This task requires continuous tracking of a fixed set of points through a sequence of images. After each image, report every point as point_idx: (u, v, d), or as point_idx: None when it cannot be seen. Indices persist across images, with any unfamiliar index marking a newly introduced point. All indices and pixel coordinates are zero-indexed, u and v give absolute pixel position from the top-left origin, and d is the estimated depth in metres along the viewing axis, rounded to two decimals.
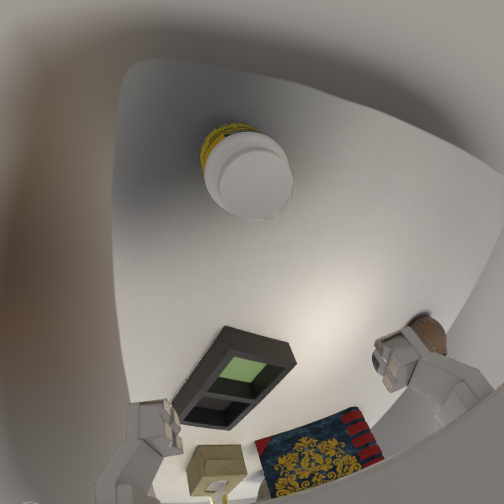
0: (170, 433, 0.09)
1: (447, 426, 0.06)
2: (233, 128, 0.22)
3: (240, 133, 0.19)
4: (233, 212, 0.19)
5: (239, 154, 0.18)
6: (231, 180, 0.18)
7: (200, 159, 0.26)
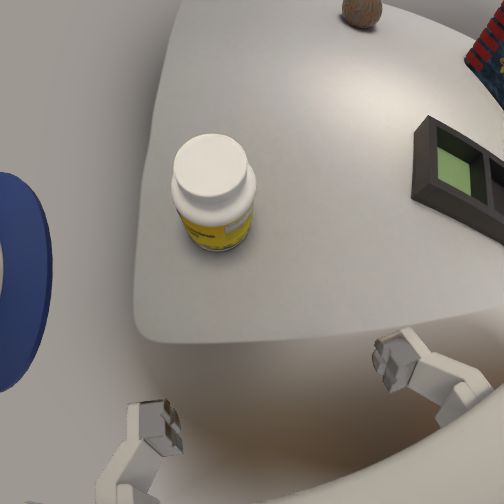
0: (170, 433, 0.09)
1: (447, 426, 0.06)
2: None
3: (173, 199, 0.21)
4: (239, 178, 0.18)
5: (180, 187, 0.18)
6: (205, 187, 0.18)
7: (225, 247, 0.27)
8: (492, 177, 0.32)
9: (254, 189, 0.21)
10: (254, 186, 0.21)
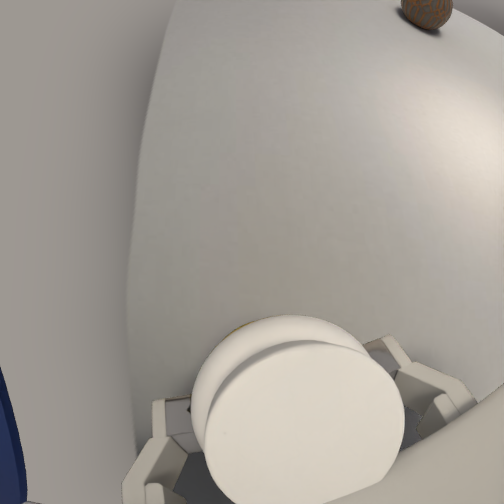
0: None
1: (447, 426, 0.06)
2: None
3: (200, 445, 0.08)
4: (384, 472, 0.05)
5: (231, 494, 0.05)
6: None
7: None
8: None
9: None
10: None
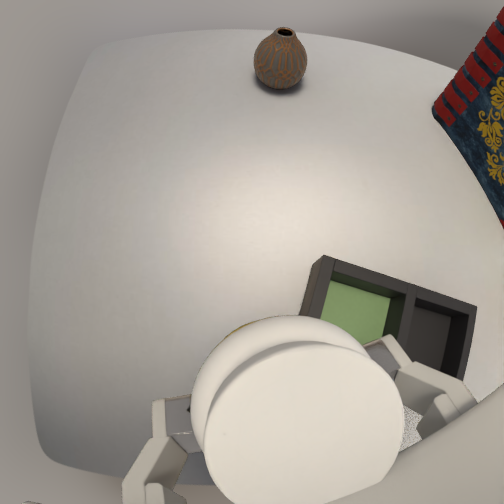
0: None
1: (447, 426, 0.06)
2: None
3: (200, 446, 0.08)
4: (384, 473, 0.05)
5: (230, 495, 0.05)
6: None
7: None
8: (425, 308, 0.29)
9: None
10: None
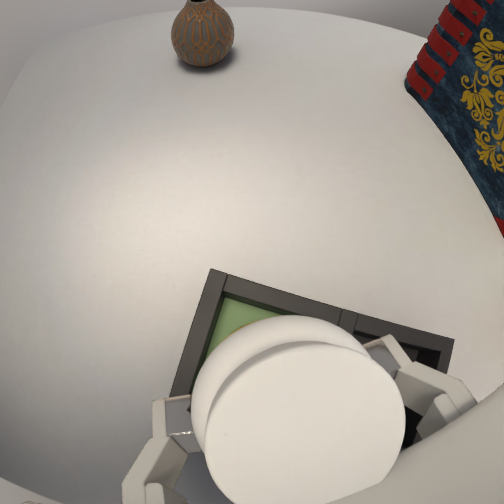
0: None
1: (447, 426, 0.06)
2: None
3: (200, 446, 0.08)
4: (385, 473, 0.05)
5: (231, 495, 0.05)
6: None
7: None
8: None
9: None
10: None
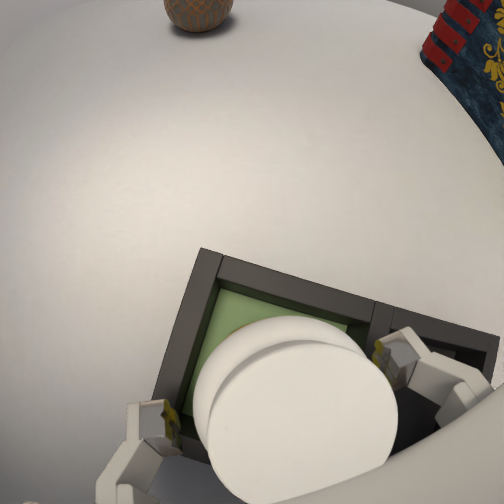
0: (170, 433, 0.09)
1: (447, 426, 0.06)
2: None
3: (202, 442, 0.08)
4: (378, 466, 0.06)
5: (232, 488, 0.06)
6: None
7: None
8: None
9: None
10: None
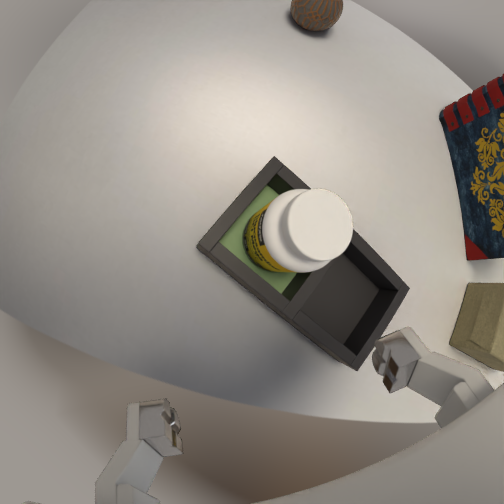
0: (170, 433, 0.09)
1: (447, 426, 0.06)
2: (254, 234, 0.24)
3: (263, 229, 0.21)
4: (341, 251, 0.19)
5: (287, 235, 0.19)
6: (311, 248, 0.19)
7: (274, 271, 0.28)
8: (356, 264, 0.31)
9: None
10: None
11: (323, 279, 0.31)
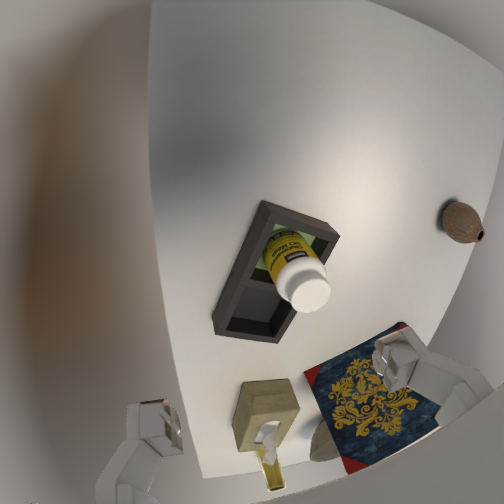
0: (170, 433, 0.09)
1: (447, 426, 0.06)
2: (288, 248, 0.35)
3: (296, 260, 0.33)
4: (298, 311, 0.33)
5: (300, 282, 0.31)
6: (297, 297, 0.32)
7: (263, 259, 0.40)
8: (281, 303, 0.46)
9: None
10: None
11: None
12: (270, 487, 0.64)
